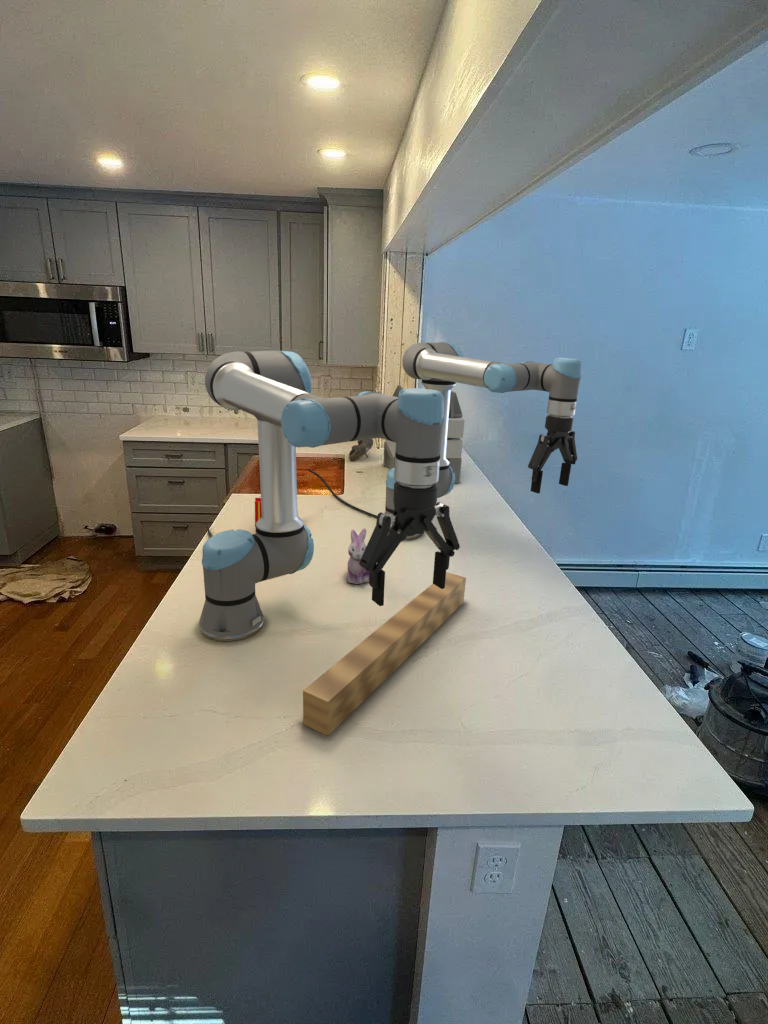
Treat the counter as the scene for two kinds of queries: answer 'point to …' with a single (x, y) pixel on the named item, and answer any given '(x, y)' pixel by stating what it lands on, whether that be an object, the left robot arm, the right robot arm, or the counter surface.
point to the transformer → (452, 438)
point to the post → (378, 656)
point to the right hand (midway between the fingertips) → (549, 488)
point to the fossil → (360, 449)
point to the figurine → (357, 558)
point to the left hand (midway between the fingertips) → (409, 594)
